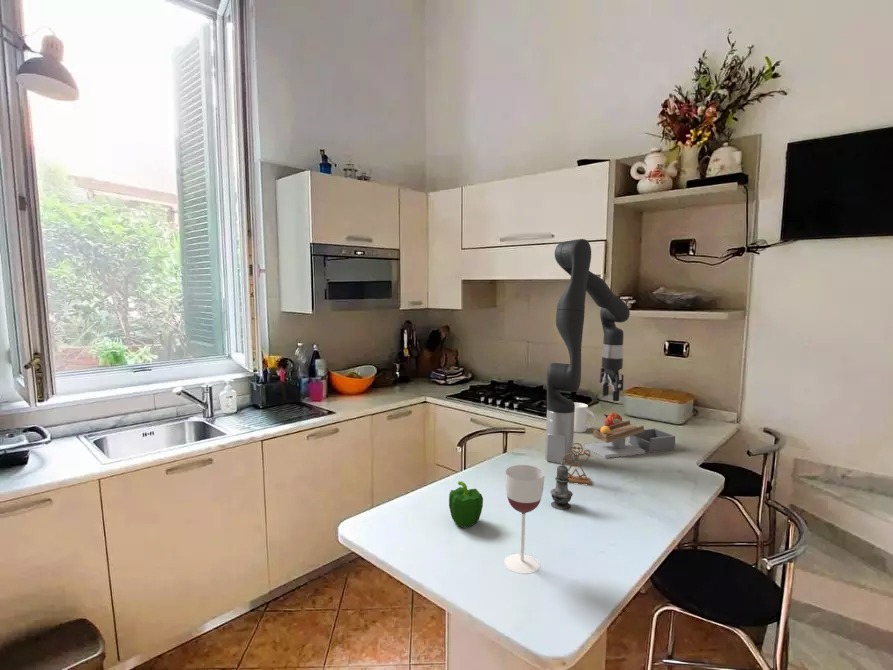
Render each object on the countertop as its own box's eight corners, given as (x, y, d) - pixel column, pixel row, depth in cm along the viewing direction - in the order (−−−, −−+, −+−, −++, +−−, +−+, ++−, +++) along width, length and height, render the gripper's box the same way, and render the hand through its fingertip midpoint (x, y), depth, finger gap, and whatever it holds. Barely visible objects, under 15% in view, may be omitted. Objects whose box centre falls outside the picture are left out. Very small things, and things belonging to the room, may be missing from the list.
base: (644, 453, 175) (645, 438, 175) (605, 458, 170) (606, 442, 169) (622, 443, 187) (623, 429, 186) (584, 447, 181) (585, 433, 181)
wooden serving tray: (644, 431, 177) (643, 425, 176) (607, 443, 172) (606, 436, 172) (617, 421, 191) (616, 414, 190) (582, 431, 186) (581, 424, 186)
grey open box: (674, 449, 181) (675, 436, 180) (649, 452, 177) (650, 438, 176) (653, 440, 191) (654, 428, 190) (629, 443, 187) (630, 430, 186)
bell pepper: (487, 528, 119) (488, 489, 118) (454, 532, 116) (455, 492, 115) (475, 513, 127) (476, 476, 126) (444, 517, 124) (445, 479, 123)
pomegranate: (618, 432, 208) (600, 416, 211) (630, 421, 205) (611, 405, 208) (616, 439, 202) (596, 422, 204) (628, 427, 199) (608, 410, 201)
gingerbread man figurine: (559, 481, 148) (561, 443, 147) (560, 477, 152) (562, 439, 151) (590, 485, 146) (592, 446, 145) (590, 480, 150) (592, 442, 149)
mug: (591, 435, 196) (592, 409, 195) (562, 430, 202) (563, 405, 201) (597, 430, 203) (598, 405, 202) (569, 425, 210) (570, 401, 209)
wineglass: (498, 570, 101) (501, 476, 99) (508, 549, 109) (511, 462, 107) (536, 578, 98) (540, 483, 96) (544, 556, 106) (547, 468, 105)
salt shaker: (568, 512, 128) (570, 468, 127) (546, 506, 131) (548, 463, 130) (575, 504, 133) (576, 461, 132) (554, 499, 136) (555, 457, 135)
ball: (609, 437, 174) (609, 427, 174) (599, 436, 175) (599, 426, 175) (611, 434, 177) (611, 425, 177) (601, 433, 179) (601, 424, 178)
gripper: (631, 359, 177) (629, 402, 179) (613, 352, 191) (611, 393, 193) (611, 359, 176) (609, 403, 178) (594, 353, 190) (593, 393, 192)
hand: (610, 398), depth 186 cm, fingers open, 8 cm apart
